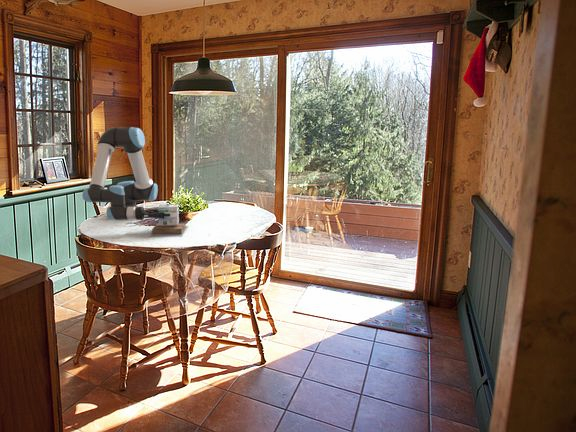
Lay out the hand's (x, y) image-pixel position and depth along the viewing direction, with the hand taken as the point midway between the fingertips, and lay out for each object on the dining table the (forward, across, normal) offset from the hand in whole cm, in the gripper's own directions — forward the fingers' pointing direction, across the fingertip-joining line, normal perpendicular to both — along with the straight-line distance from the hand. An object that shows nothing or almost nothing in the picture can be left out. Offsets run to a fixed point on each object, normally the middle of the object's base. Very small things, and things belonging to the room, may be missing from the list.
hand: (177, 213), depth 234 cm
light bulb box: (-5, 0, -6) cm, 8 cm away
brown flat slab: (-5, 0, -12) cm, 13 cm away
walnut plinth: (-5, 0, -10) cm, 12 cm away
